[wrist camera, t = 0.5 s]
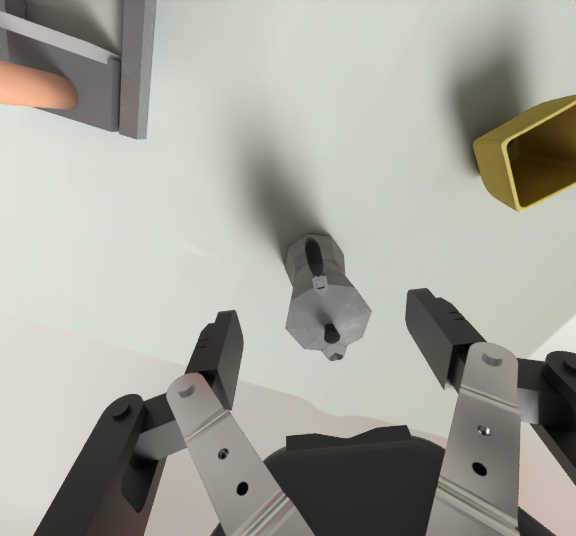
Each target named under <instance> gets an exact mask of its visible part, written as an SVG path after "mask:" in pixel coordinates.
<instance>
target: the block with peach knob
mask: <svg viewBox="0 0 576 536" xmlns="http://www.w3.org/2000/svg"><path fill="white" fill-rule="evenodd" d="M0 27H1V28H4V29H6V34H7V43H8V52H9V60H10V63H8V62H4V61H0V104H7V105H18V106H30V107H34V108H37V109H40V110H44V111H47V112H50V113H53V114H56V115H60V116H63V117H66V118H69V119H72V120H75V121H79V122H82V123H85V124H88V125H91V126H95V127H98V128H101V129H104V130H107V131H110V132H118V131H119V124H120V94H121V64H122V57H121V56H118V55H116V54H114V53H111V52H109V51H107V50H105V49H102V48H100V47H98V46H96V45H93V44H91V43H89V42H86V41H83V40H80V39H78V38H75V37H72V36H69V35H66V34H64V33H61V32H58V31H55V30H52V29H49V28H47V27H44V26H41V25H38V24H35V23H33V22H30V21H27V20H24V19H21V18H19V17H16V16H13V15H10V14H7V13H5V12H2V11H0Z"/></svg>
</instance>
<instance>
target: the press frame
mask: <svg viewBox="0 0 576 536" xmlns="http://www.w3.org/2000/svg"><path fill="white" fill-rule="evenodd" d="M0 11H2V12H5V13H7V14H10V15H13V16H16V17H19V18H21V19H24V20H26V10H25V0H0ZM155 11H156V0H124V5H123V34H122V64H121V94H120V124H119V134H121V135H124V136H127V137H131V138H134V139H146V134H147V121H148V107H149V93H150V80H151V66H152V52H153V39H154V25H155ZM0 61H4V62H8V63H10V60H9V52H8V43H7V34H6V29H4V28H1V27H0Z"/></svg>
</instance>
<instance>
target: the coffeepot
mask: <svg viewBox="0 0 576 536" xmlns="http://www.w3.org/2000/svg"><path fill="white" fill-rule="evenodd" d="M285 269H286V272H287V274H288V277H289V279H290V282H291V284H292V286H293V292H292V297H291V302H290V307H289V312H288V317H287V323H286V328H285V329H286V330H287V331H288V332H289V333H290V334H291V335H292V336H293V337H294V338H295V340H296V341H297V342H298V343H299V344H300V345H301V346H302V347H303V348H304V349H310V350H320V351H322V352H323V354H324V355H325V356H326V357H327V359H329V361H335V360H340V359H343V358H344V355H345V352H346V348H347V345H349V344H351V343H353V342H355V341H357V340H359V339H360V338H362V337H363V334H364V332H365V329H366V326H367V323H368V320H369V318H370V315H371V312H372V311H371V309H370V308H369V306H368V305H367V304H366V302H365V301H364V300H363V298H362V297H361V295H360V294H359V293H358V291H357V290H356V288H355V287H354V286H353V285H352V284H351V282H350V281H349V280H348V279H347V277H346V276H345V265H344V254H343V253H342V251H341V250H340V249H339V247H338V246H337V244H336V243H335V241H334V240H333V239H332V237H328V236H323V235H315V234H307V235H305V236H304V237H302V238H300V239H298V240H297V241H296V242H295V243H293V244H292V245H291V246H289V247H288V252H287V258H286V264H285Z"/></svg>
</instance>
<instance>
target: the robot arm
mask: <svg viewBox="0 0 576 536" xmlns="http://www.w3.org/2000/svg"><path fill="white" fill-rule="evenodd" d="M405 320H406V325H407V328H408V330H409V332H410V334H411V336H412V337H413V339H414V341H415V342H416V344H417V346H418V347H419V349H420V351H421V352H422V354H423V356H424V357H425V359H426V361H427V362H428V364H429V366H430V367H431V369H432V371H433V372H434V374H435V376H436V377H437V379H438V381H439V383H440V384H441V386H442V388H443V389H444V390H453V389H455V390H456V391H457V393H458V399H457V403H456V407H455V412H454V416H453V420H452V424H451V429H450V433H449V437H448V442H447V446H446V450H445V449H444V448H442V447H441V446H439V445H437V444H435V443H433V442H431V441H429V440H426V439H423V438H420V437H416V436H412V435H411V434H410V432H409V429H408V427H407V425H401V426H390V427H380V428H375V429H372V430H369V431H367V432H364V433H362V434H359V435H356V436H354V437H351V438H339V437H334V436H327V435H322V434H316V433H314V434H304V435H293V436H287V437H286V446H285V447H283V448H281V449H279V450H277V451H275V452H274V453H272V454H271V455H269V456H268V457H267V458H266V459H265V460H264V461H262V460H261V458H260V457H259V455H258V454H257V452H256V451H255V449H254V448H253V446H252V445H251V443H250V442H249V440H248V439H247V437H246V436H245V434H244V433H243V431H242V430H241V428H240V427H239V425H238V424H237V422H236V421H235V419H234V418H233V416H232V415H231V413H230V412H229V410H232V407H233V401H234V396H235V390H236V385H237V379H238V374H239V368H240V363H241V358H242V352H243V335H242V331H241V327H240V324H239V320H238V316H237V313H236V311H235V310H230V311H221V312H218V315H217V318H216V320H215V323H210V324H208V325H207V326H206V327H205V328H204V329H203V330H202V331H201V334H200V336H199V339H198V342H197V344H196V346H195V349H194V351H193V354H192V356H191V359H190V361H189V364H188V366H187V369H186V372H185V374H184V375H183V376H181V377H179V378H177V379H176V380H175V381H174V382H173V383H172V384H171V385H170V387H169V388H168V390H167V392H166V393H165V394H162V395H159V396H156V397H154V398H151V399H148V400H146V401H143V400H142V398H141V396H139V395H137V394H129V395H125V396H123V397H121V398H119V399H117V400H115V401H114V402H113V403H111V404H110V405H109V406H108V407H107V408H106V410H105V411H104V412H103V414H102V415H101V417H100V419H99V420H98V422H97V424H96V426H95V428H94V429H93V431H92V433H91V435H90V436H89V438H88V440H87V442H86V443H85V445H84V447H83V449H82V451H81V452H80V454H79V456H78V458H77V459H76V461H75V463H74V465H73V466H72V468H71V470H70V472H69V473H68V475H67V477H66V479H65V481H64V482H63V484H62V486H61V488H60V489H59V491H58V493H57V495H56V496H55V498H54V500H53V502H52V504H51V505H50V507H49V509H48V510H47V512H46V514H45V516H44V518H43V519H42V521H41V523H40V525H39V526H38V528H37V530H36V532H35V533H34V535H33V536H144V532H145V529H146V526H147V522H148V519H149V515H150V512H151V509H152V505H153V502H154V499H155V495H156V492H157V489H158V485H159V482H160V479H161V475H162V472H163V468H164V465H165V462H166V458H167V456H168V455H171V454H173V453H175V452H177V451H180V450H182V449H184V448H188V450H189V452H190V454H191V457H192V459H193V462H194V464H195V466H196V468H197V471H198V473H199V475H200V477H201V480H202V482H203V484H204V487H205V488H206V491H207V493H208V496H209V498H210V500H211V502H212V505H213V507H214V509H215V512H216V514H217V516H218V518H219V521H220V522H219V524H218V525H217V527H216V528H215V529H214V531H213V532H212V534H211V535H210V536H556V535H555V534H553V533H552V532H551V531H549V530H548V529H547V528H546V527H544V526H543V525H542V524H541V523H539V522H538V521H537V520H535V519H534V518H533V517H532V516H530V515H529V514H528V513H527V512H525V511H524V510H522V509H521V508H520V507H519V506H518V490H519V457H520V456H519V455H520V422H521V421H522V422H527V423H529V424H530V425H531V426H532V427H533V429H534V430H535V431H536V433H537V434H538V436H539V437H540V438H541V440H542V441H543V442H544V443H545V445H546V446H547V448H548V449H549V450H550V452H551V453H552V454H553V456H554V457H555V458H556V460H557V461H558V462H559V464H560V465H561V466H562V468H563V469H564V471H565V472H566V473H567V475H568V476H569V477H570V479H571V480H572V481H573V483H574V484H575V485H576V354H575V353H571V352H566V351H555V352H551V353H549V354H548V355H547V357H546V359H545V362H543V361H535V360H528V359H521V358H516V357H515V356H514V355H513V353H511V352H510V351H509V350H507V349H506V348H504V347H502V346H500V345H497V344H494V343H489V342H487V341H486V340H485V339H484V338H483V337H482V336H481V335H480V334H479V333H478V332H477V331H476V329H475V328H474V327H473V326H472V325H471V324H470V323H469V322H468V321H467V320H465V318H464V316H463V315H462V314H461V313H459V311H458V310H457V309H456V308H455V307H454V306H453V305H452V304H451V303H450V302H448V301H446V300H444V299H443V298H441V297H440V298H435V297H434V295H433V294H432V293H431V292H430V291H429V290H428V289H427V288H421V289H413V290H409V291H408V293H407V303H406V315H405Z"/></svg>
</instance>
